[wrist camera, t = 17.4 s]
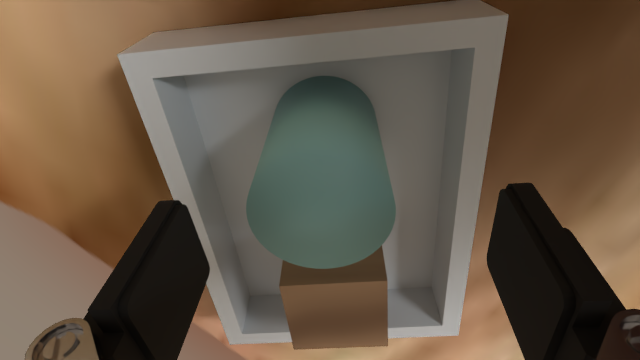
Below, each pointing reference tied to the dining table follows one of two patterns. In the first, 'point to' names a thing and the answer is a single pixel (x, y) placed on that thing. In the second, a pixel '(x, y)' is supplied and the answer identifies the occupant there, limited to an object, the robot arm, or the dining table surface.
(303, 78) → the grey tote
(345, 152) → the teal rounded capsule
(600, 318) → the robot arm
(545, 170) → the dining table surface
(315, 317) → the walnut cube
